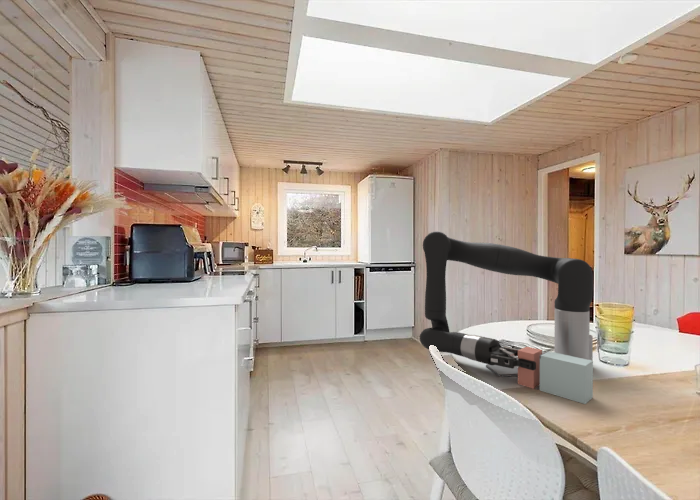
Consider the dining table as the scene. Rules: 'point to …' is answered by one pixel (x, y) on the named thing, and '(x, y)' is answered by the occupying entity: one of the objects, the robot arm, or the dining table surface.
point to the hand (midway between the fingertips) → (540, 363)
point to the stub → (526, 375)
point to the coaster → (503, 370)
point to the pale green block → (566, 376)
